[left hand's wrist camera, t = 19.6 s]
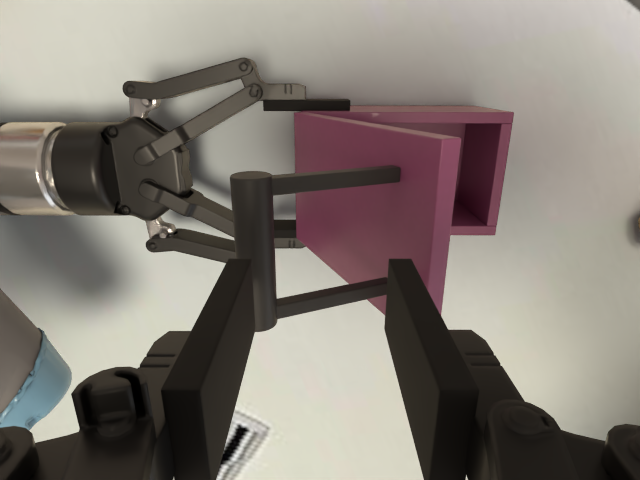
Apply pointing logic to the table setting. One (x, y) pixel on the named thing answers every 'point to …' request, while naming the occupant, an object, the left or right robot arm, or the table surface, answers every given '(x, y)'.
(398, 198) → the lid
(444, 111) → the chest
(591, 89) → the table surface
